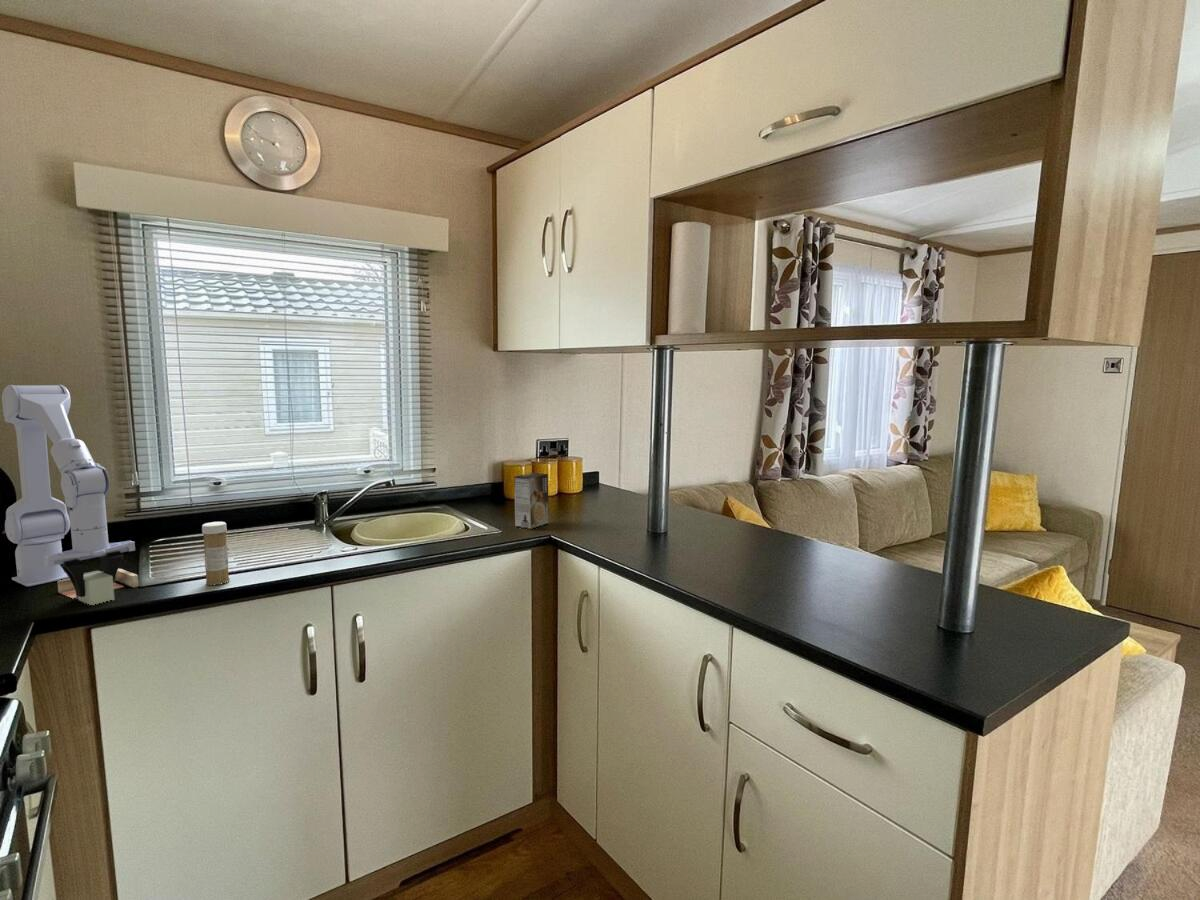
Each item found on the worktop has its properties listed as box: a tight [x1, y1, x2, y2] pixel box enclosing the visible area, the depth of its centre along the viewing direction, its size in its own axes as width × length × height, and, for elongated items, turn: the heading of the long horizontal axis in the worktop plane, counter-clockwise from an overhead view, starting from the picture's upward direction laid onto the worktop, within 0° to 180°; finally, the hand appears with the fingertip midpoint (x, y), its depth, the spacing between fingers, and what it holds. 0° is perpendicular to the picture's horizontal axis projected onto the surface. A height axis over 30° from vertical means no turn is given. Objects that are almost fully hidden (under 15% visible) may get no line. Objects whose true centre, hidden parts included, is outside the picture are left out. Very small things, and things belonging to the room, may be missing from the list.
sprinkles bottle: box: [201, 521, 230, 586], centre depth 139 cm, size 5×5×14 cm
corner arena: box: [56, 567, 140, 600], centre depth 135 cm, size 10×11×2 cm
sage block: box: [75, 570, 116, 606], centre depth 129 cm, size 4×7×5 cm, turn 58°
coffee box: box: [513, 472, 550, 528], centre depth 194 cm, size 9×6×16 cm
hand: (94, 592), depth 129 cm, fingers open, 4 cm apart
